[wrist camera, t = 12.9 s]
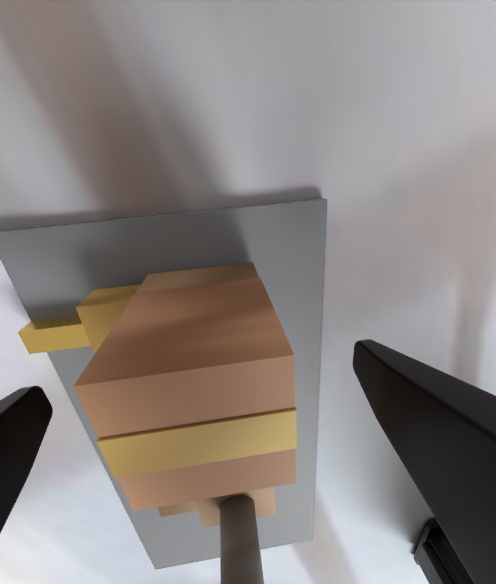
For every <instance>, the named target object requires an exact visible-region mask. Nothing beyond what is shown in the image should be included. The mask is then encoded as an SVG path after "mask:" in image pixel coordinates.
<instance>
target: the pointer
mask: <svg viewBox="0 0 496 584" xmlns="http://www.w3.org/2000/svg"><path fill="white" fill-rule="evenodd" d="M18 333H19V335H20V337H21V339H22V341H23V343H24V345H25V346H26V348H27V350H28V352H29V354H32V353H39V352H47V351H55V350H62V349H70V348H77V347H85V346H91V344H90V342H89V339H88V337H87V334H86V332H85V329H84V327H83V324H82V322H81V319H80V317H79V315H77V316H69V317H61V318H53V319H45V320H37V321H31V322H30V323H29V324H27V325H26V326H25V327H24V328H22V329H21V330H20V331H19V332H18Z"/></svg>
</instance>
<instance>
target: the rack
mask: <svg viewBox="0 0 496 584" xmlns="http://www.w3.org/2000/svg"><path fill="white" fill-rule="evenodd" d="M257 278H259V276H258V273H257V271H256V269H255V266H254V264H253V262H249V263H241V264H232V265H223V266H215V267H206V268H197V269H189V270H180V271H171V272H163V273H154V274H148V275H147V276H146V278H145V279H144V281H143V282H142V284H140V285H132V286H123V287H115V288H106V289H98V290H93V291H92V292H91V293H90V294H89V295H88V296H87V297H86V298H85V299H84V300H83V301H82V302H81V303H80V304H79V305H78V306H77V307H76V310H77V312H78V315H79V317H80V319H81V322H82V324H83V327H84V329H85V332H86V334H87V337H88V339H89V342H90V344H91V346H92V349H93V351H94V354H95V353H96V351H97V350H98V348H99V347H100V346H101V344H102V343H103V341H104V340H105V338H106V337H107V335H108V334H109V332H110V331H111V329H112V328H113V326H114V325H115V323H116V322H117V320H118V319H119V317H120V316H121V314H122V313H123V311H124V310H125V308H126V307H127V305H128V304H129V302H130V301H131V299H132V298H133V296H134V295H135V293H141V292H149V291H157V290H165V289H174V288H182V287H190V286H199V285H207V284H215V283H223V282H232V281H240V280H248V279H257ZM157 509H158V511H159V513H160V516H161V517H165V516H170V515H176V514H182V513H187V512H193V511H198V512H199V515H200V519H201V522H202V526H203V528H206V527H211V526H217V525H220V557H221V584H264V580H263V572H262V563H261V555H260V546H259V538H258V529H257V521H256V518H261V517H266V516H272V515H276V506H275V491H274V487H270V488H265V489H259V490H253V491H248V492H242V493H236V494H230V495H225V496H219V497H213V498H208V499H202V500H196V501H191V502H185V503H179V504H173V505H168V506H162V507H157Z"/></svg>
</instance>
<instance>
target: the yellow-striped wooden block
mask: <svg viewBox="0 0 496 584" xmlns="http://www.w3.org/2000/svg"><path fill="white" fill-rule="evenodd" d="M73 387H74V389H75V391H76V393H77V396H78V398H79V400H80V402H81V404H82V406H83V408H84V410H85V412H86V414H87V416H88V418H89V420H90V423H91V425H92V427H93V429H94V431H95V433H96V435H97V437H98V440H97V444H98V446H99V448H100V450H101V452H102V454H103V456H104V458H105V460H106V462H107V464H108V466H109V468H110V470H111V472H112V474H113V476H114V478H117V479H118V481H119V483H120V485H121V487H122V489H123V491H124V493H125V495H126V497H127V499H128V501H129V503H130V505H131V508H132V510H133V512H134V511H139V510H145V509H151V508H156V507H162V506H168V505H173V504H179V503H185V502H191V501H196V500H202V499H208V498H213V497H219V496H225V495H230V494H236V493H242V492H248V491H253V490H259V489H265V488H270V487H276V486H282V485H287V484H293V483H296V458H295V449H296V448H297V412H296V408H295V377H294V353H293V351H292V349H291V346H290V344H289V342H288V340H287V337H286V335H285V333H284V330H283V328H282V326H281V323H280V321H279V319H278V316H277V314H276V312H275V310H274V307H273V305H272V303H271V300H270V298H269V296H268V293H267V291H266V289H265V286H264V284H263V282H262V280H261V278H257V279H248V280H240V281H232V282H223V283H215V284H207V285H199V286H190V287H182V288H174V289H165V290H157V291H149V292H141V293H135V295H134V296H133V298H132V299H131V301H130V302H129V304H128V305H127V307H126V308H125V310H124V311H123V313H122V314H121V316H120V317H119V319H118V320H117V322H116V323H115V325H114V326H113V328H112V329H111V331H110V332H109V334H108V335H107V337H106V338H105V340H104V341H103V343H102V344H101V346H100V347H99V348H98V350H97V351H96V353H95V354H94V356H93V357H92V359H91V360H90V362H89V363H88V365H87V366H86V368H85V369H84V371H83V372H82V374H81V375H80V377H79V378H78V380H77V381H76V383H75V384H74V386H73Z"/></svg>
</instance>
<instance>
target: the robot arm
mask: <svg viewBox="0 0 496 584" xmlns="http://www.w3.org/2000/svg"><path fill="white" fill-rule="evenodd" d="M353 368H354V371H355V373H356V376H357V378H358V380H359V382H360V384H361V386H362V389H363V391H364V393H365V395H366V397H367V399H368V401H369V404H370V406H371V408H372V410H373V412H374V414H375V416H376V418H377V420H378V422H379V423H380V425H381V427H382V429H383V430H384V432H385V434H386V435H387V437H388V439H389V440H390V442H391V444H392V445H393V447H394V449H395V451H396V452H397V454H398V456H399V457H400V459H401V461H402V462H403V464H404V466H405V467H406V469H407V471H408V472H409V474H410V476H411V477H412V479H413V481H414V482H415V484H416V486H417V488H418V489H419V491H420V493H421V494H422V496H423V498H424V499H425V501H426V503H427V504H428V506H429V508H430V509H431V511H432V513H433V514H434V516H435V518H436V519H437V520H436V521H431V522H429V523H427V524H426V526H425V529H424V531H423V534H422V536H421V539H420V542H419V544H418V547H417V550H416V552H415V555H414V560H415V562H416V564H417V565H420V567H421V569H422V570H423V572H424V574H425V576H426V578H427V580H428V582H429V584H496V396H495V395H493V394H490V393H488V392H486V391H484V390H482V389H479V388H477V387H475V386H473V385H470V384H468V383H466V382H464V381H462V380H459V379H457V378H455V377H453V376H450V375H448V374H446V373H444V372H442V371H439V370H437V369H435V368H433V367H431V366H428V365H426V364H424V363H422V362H419V361H417V360H415V359H413V358H411V357H408V356H406V355H404V354H402V353H399V352H397V351H395V350H393V349H391V348H388V347H386V346H384V345H382V344H380V343H377V342H375V341H373V340H370V339H367V340H360V341H357V342H356V343H355V346H354V356H353ZM51 417H52V406H51V404H50V402H49V400H48V398H47V397H46V395H45V393H44V391H43V389H42V388H41V387H39V386H31V387H24V388H21V389H19V390H17V391H15V392H13V393H12V394H10V395H9V396H7V397H5V398H4V399H2V400H0V533H1V531H2V529H3V527H4V525H5V523H6V521H7V519H8V517H9V515H10V513H11V511H12V508H13V506H14V504H15V502H16V500H17V498H18V496H19V494H20V492H21V490H22V488H23V486H24V484H25V482H26V480H27V478H28V475H29V473H30V471H31V468H32V466H33V463H34V461H35V458H36V456H37V453H38V450H39V448H40V445H41V443H42V440H43V438H44V435H45V432H46V430H47V427H48V425H49V422H50V419H51Z"/></svg>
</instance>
